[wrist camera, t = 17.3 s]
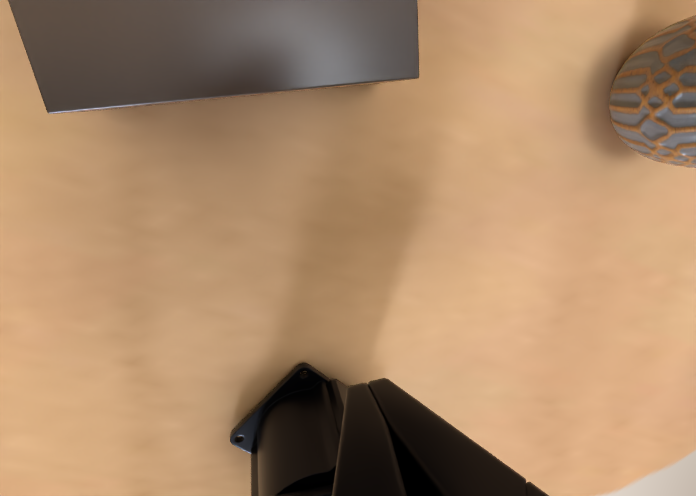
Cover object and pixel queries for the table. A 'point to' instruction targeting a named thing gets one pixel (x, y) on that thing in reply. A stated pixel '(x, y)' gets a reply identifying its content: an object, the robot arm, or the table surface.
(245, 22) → the stand
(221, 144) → the table surface
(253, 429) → the robot arm
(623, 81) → the vase
